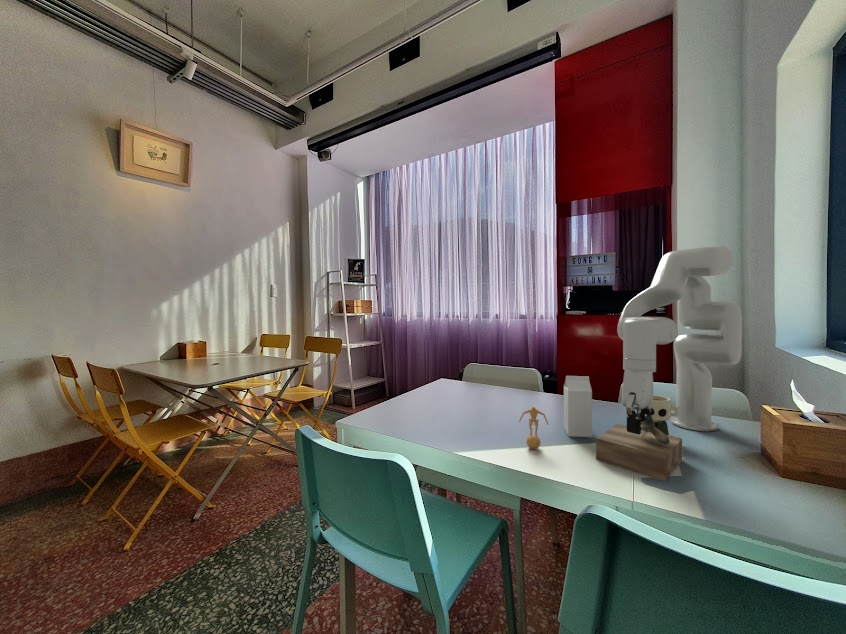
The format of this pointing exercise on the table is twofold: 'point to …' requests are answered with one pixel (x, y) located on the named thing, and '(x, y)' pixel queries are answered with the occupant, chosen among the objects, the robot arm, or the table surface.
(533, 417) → the figurine
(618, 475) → the table surface
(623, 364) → the robot arm
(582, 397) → the milk carton
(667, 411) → the character mug
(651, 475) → the walnut block
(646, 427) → the eagle figurine
